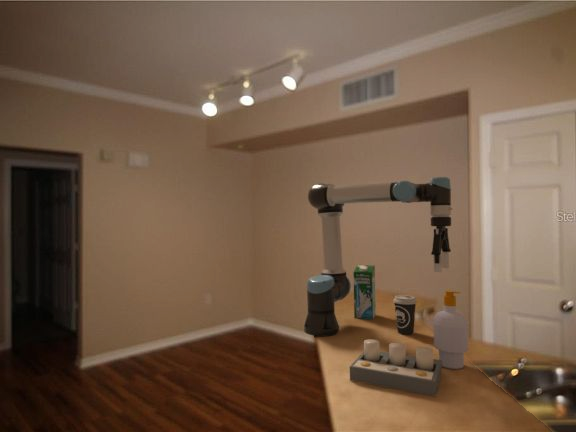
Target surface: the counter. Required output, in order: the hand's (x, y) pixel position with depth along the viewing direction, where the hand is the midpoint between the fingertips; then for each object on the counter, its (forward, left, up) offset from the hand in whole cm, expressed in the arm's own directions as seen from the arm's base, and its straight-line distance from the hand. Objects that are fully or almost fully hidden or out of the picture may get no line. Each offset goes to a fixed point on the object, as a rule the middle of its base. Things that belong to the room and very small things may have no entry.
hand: (441, 269), depth 147 cm
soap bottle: (+5, -27, -28) cm, 39 cm away
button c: (-1, -41, -25) cm, 48 cm away
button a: (-17, -42, -25) cm, 51 cm away
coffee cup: (-15, +3, -28) cm, 32 cm away
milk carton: (-38, +22, -28) cm, 52 cm away
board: (-9, -43, -28) cm, 52 cm away
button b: (-9, -42, -25) cm, 49 cm away
